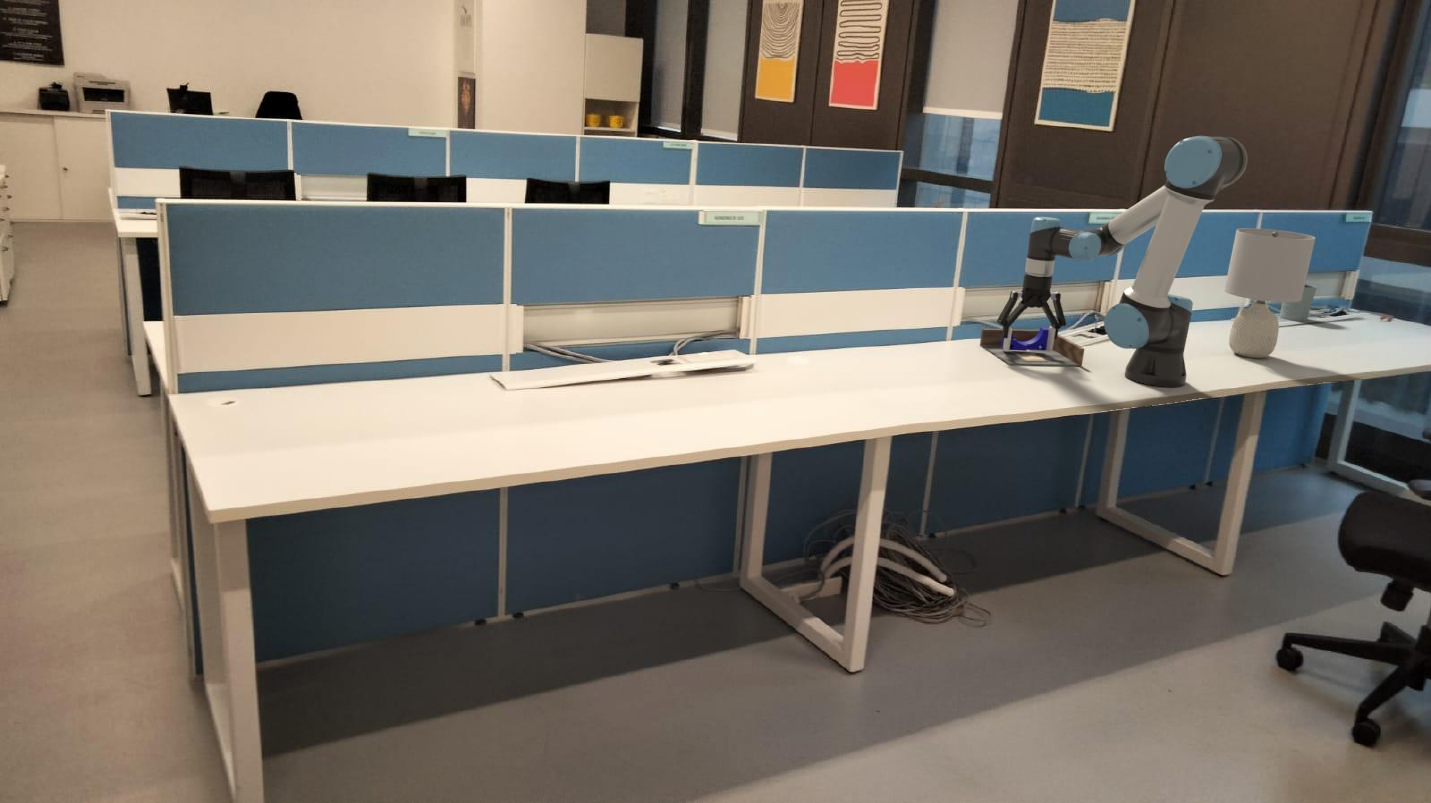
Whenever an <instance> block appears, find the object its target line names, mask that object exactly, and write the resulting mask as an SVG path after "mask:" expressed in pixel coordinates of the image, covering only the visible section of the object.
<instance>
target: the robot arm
mask: <svg viewBox="0 0 1431 803" xmlns="http://www.w3.org/2000/svg"><path fill="white" fill-rule="evenodd" d="M1164 160H1165V161H1164V172H1165V173H1166V174H1165V176H1166V182H1165V184H1164V185H1162V186H1161V187H1160V188H1158V189H1156V190H1155V191H1153V192H1152V193H1151V194H1149V195H1147V196H1146V197H1144V198H1143V199H1141V200H1140V201H1139V202H1137V203H1136V204H1134V205H1133V206H1132V205H1131V207H1129V208H1128V209H1126V210H1124V211H1123V212H1122V213H1120V214H1119V215H1117V216H1115V217H1114V218H1112V219H1111V220H1109V221H1108V222H1107V223H1105V224H1103V225H1102V226H1100V227H1098V228H1090V229H1070V228H1064V227H1062V226H1061V222H1062V221H1061V219H1060V218H1055V217H1049V216H1037V217H1034V218H1033V219H1032V221H1031V227H1030V232H1029V238H1028V249H1027V255H1026V260H1025V270H1024V272H1026V273H1024V276H1023V282H1022V290H1021V291H1016V290H1013V289H1012V290H1011V291H1010V295H1009V298H1008V300H1007V302H1006V304H1005V306H1004V308H1002V311H1001V312H1000V315H999V316H998V318H997V319H996V322H997V324H999V325H1000V326H1002V329H1003V330H1002V337H1003V338H1004V344H1003V348H1004V349H1005V350H1007V351H1009V349H1010V342H1011V335H1012V329H1013V327H1011V326H1012V325H1013V324H1014V323H1015V321H1016V320H1017V319H1018V318H1019V317H1020V316H1021V314H1023V313H1024V311H1025V310H1028V308H1031V309H1032V308H1038V309H1042V310H1043V312H1044V314H1045V316H1046V317H1047V319H1048V320H1049V322H1050V324H1051V326H1050V325H1049V326H1048V330H1049V333H1048V340H1047V346H1046V349H1047V350H1049V351H1052V350H1053V344H1054V339H1057V336H1058V334H1059V330H1060V329H1061V328H1062V327H1066V326H1067V322H1066V317H1065V313H1064V310H1063V307H1062V303H1061V298H1062V294H1061V293H1060V292H1058V291H1053V292H1051V290H1052V283H1053V276H1052V275H1053V274H1054V270H1055V263H1056V257H1062V258H1067V259H1072V260H1076V261H1078V262H1079V261H1083V262H1091V261H1092V262H1093V261H1094V259H1095V258H1097V257H1109V256H1113V255H1117V254H1118V253H1120V252H1122V250H1123V249H1124V247H1125V246H1126V244H1128V243H1130V242H1131V241H1133V240H1135V239H1136V238H1137V237H1139V236H1141V235H1143V234H1144V233H1147V232H1148V231H1149V230H1150V229H1152V228H1154V227H1155V228H1154V231H1153V233H1152V235H1151V238H1150V241H1149V243H1148V245H1147V248H1146V251H1145V254H1144V255H1143V259H1142V261H1141V264H1140V266H1139V269H1138V270H1137V273H1136V277H1135V279H1134V281H1133V283H1132V285H1130V286H1129V287H1127V288H1124V290H1123V292H1122V295H1121V297H1120V299H1119V301H1118V302H1119V303H1117V304H1114V305H1113V306H1112V307H1110V308H1109V309H1108V311H1107V312H1106V314H1105V317H1104V320H1103V326H1104V330H1105V333H1106V335H1107V337H1108V340H1110V342H1112V344H1113V345H1115V346H1117V347H1119V348H1122V349H1126V350H1127V349H1128V350H1129V349H1130V350H1131V349H1133V350H1134V352H1133V354H1132V356H1131V357H1130V359H1129V361H1128V363H1127V365H1125V366H1126V367H1125V370H1124V371H1125V372H1124V376H1125V378H1126V379H1128V380H1130V381H1134V382H1137V383H1139V382H1140V384H1143V383H1144V385H1150V386H1153V387H1154V386H1155V387H1162V386H1164V388H1165V387H1167V388H1175V387H1176V388H1177V387H1183V386H1184V385H1185V384H1186V382H1187V371H1186V370H1187V369H1186V363H1185V355H1184V352H1185V348H1186V344H1187V338H1188V333H1189V330H1190V324H1191V319H1192V315H1193V307H1194V306H1193V304H1194V303H1193V301H1192V299H1190V298H1188V297H1184V296H1182V295H1181V296H1180V295H1175V294H1172V293H1171V294H1170V290H1171V287H1172V285H1173V283H1174V280H1175V278H1176V275H1177V273H1178V271H1179V269H1180V266H1181V263H1182V261H1183V259H1184V256H1185V253H1186V252H1187V249H1188V246H1189V244H1190V242H1191V239H1192V237H1193V235H1194V232H1195V230H1196V228H1197V225H1198V223H1199V221H1200V217H1201V215H1202V213H1203V210H1204V208H1205V206H1206V205H1207V204H1209V203H1212V202H1214V200H1215V198H1216V196H1217V194H1218V193H1219V192H1220V191H1222V190H1223V189H1225V188H1227V187H1229V186H1231V185H1232V184H1234V183H1236V181H1238V180H1239V179H1240V178H1241V177H1242V175H1243V174H1244V173H1245V171H1246V169H1247V164H1248V154H1247V150H1246V148H1245V147H1244V145H1243V144H1242V143H1241V142H1240V141H1238V140H1237V139H1235V138H1233V137H1229V136H1209V135H1208V136H1205V135H1197V136H1196V135H1195V136H1192V137H1191V136H1190V137H1188V138H1187V137H1186V138H1184V139H1181V140H1180V141H1178V142H1177V143H1176V144H1175V145H1174V146H1173V147H1172V148H1171V149H1170V150H1169V152H1168V154H1167V155H1166V158H1165V159H1164ZM1020 297H1021V300H1020V301H1019V303H1018V305H1017V306H1016V307H1015V305H1016V303H1017V302H1018V300H1019V299H1020ZM1050 299H1051V300H1052V305H1053V308H1054V312H1055V314H1054V313H1053V311H1052V310H1051V307H1050V305H1049V303H1048V301H1049V300H1050ZM1055 315H1056V316H1055Z"/></svg>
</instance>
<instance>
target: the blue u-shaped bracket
mask: <svg viewBox="0 0 1431 803" xmlns="http://www.w3.org/2000/svg"><path fill="white" fill-rule="evenodd" d="M1039 330H1040V331H1039V333H1038V334H1037V336H1036V337H1035V338H1033V339H1032V340H1030V341H1026V342H1020V341H1017V340H1016V339H1015V338H1014V337H1013V334H1012V335H1011V342H1010V349H1009V350H1018V351H1027V350H1046V346H1047V340H1048V333H1049V328H1047V327H1045V326H1044V327H1042V326H1041V327H1040V328H1039ZM1003 344H1004V338H1003V337H1002V343H1001V346H1002V347H1003ZM1040 345H1041V346H1040ZM1039 346H1040V347H1039Z"/></svg>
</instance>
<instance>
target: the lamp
mask: <svg viewBox="0 0 1431 803" xmlns="http://www.w3.org/2000/svg"><path fill="white" fill-rule="evenodd" d="M1315 242H1316V237H1315V236H1313V235H1309V234H1305V233H1300V232H1296V231H1295V232H1294V231H1287V230H1280V229H1279V230H1278V229H1271V228H1267V229H1266V228H1253V227H1251V228H1248V227H1247V228H1244V227H1243V228H1237V229H1236V231H1235V236H1234V241H1233V247H1232V251H1231V256H1230V261H1229V265H1228V270H1227V271H1228V272H1227V276H1226V281H1225V285H1224V286H1225V287H1224V292H1225V293H1227V294H1229V295H1233V296H1235V297H1239V298H1244V299H1249V300H1254V302H1252V304H1251V305H1250V306H1249V307H1247V308H1244V309H1241V310H1240V311H1238V313H1237V315H1236V316H1235V317H1234V320H1233V322H1232V326H1231V328H1230V333H1229V338H1228V340H1229V342H1228V345H1229V347H1230V349H1231V350H1232V352H1233V353H1235V354H1236V355H1238V356H1241V357H1246V358H1250V359H1251V358H1252V359H1264V358H1266V357H1268V356H1270V355H1271V354H1272V353H1273V352H1274V351H1275V349H1276V346H1277V342H1278V337H1279V330H1280V328H1279V325H1280V324H1279V319H1278V316H1277V315H1276V314H1275V312H1273V311H1271V309H1269V308H1270V307H1269V305H1268V304H1267V303H1266V302H1272V303H1273V302H1274V303H1282V302H1299V301H1301V300H1302V295H1303V291H1304V286H1305V284H1306V281H1307V277H1308V273H1309V272H1308V271H1309V268H1310V264H1311V260H1312V254H1313V251H1314V246H1315ZM1255 300H1256V301H1255Z"/></svg>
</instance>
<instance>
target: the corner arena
mask: <svg viewBox="0 0 1431 803" xmlns="http://www.w3.org/2000/svg"><path fill="white" fill-rule="evenodd" d="M1002 330H1003V328H981V333H980V341H979V342H980V343H979V346H980V347H981V348H983V349H985V350H986V351H987V352H988V353H990V354H992V355H993V356H995V357H996V358H997V359H999V360H1001V361H1002V362H1003V363H1005V364H1006V365H1007V366H1024V367H1025V366H1028V367H1029V366H1031V367H1032V366H1033V367H1034V366H1035V367H1036V366H1038V367H1039V366H1040V367H1083V360H1084V353H1085V348H1084V347H1082V346H1081V345H1079V344H1077V343H1075V342H1073V341H1071V340H1069V339H1068V338H1066V337H1064V336H1062V335H1060V334H1059V333H1058V336H1057V339H1054V344H1053V350H1052V351H1049V350H1047V349H1046V350H1027V351H1018V350H1009V351H1007V350H1005V349H1004V348H1003V347H1002V346H1001V343H1002ZM1039 331H1040V329H1017V328H1016V329H1015V328H1014V329H1013V328H1012V334H1013V337H1014V338H1015V339H1016V340H1017V341H1020V342H1026V341H1030V340H1032V339H1033V338H1035V337H1036V336H1037V334H1038V333H1039ZM1040 346H1041V345H1040ZM1040 346H1039V347H1040Z"/></svg>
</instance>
